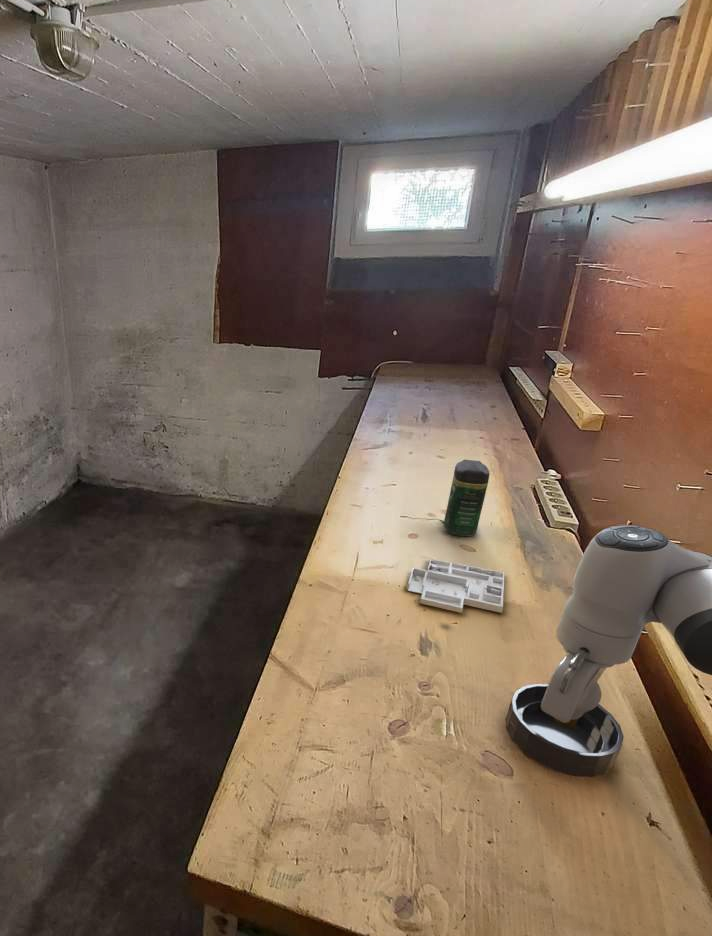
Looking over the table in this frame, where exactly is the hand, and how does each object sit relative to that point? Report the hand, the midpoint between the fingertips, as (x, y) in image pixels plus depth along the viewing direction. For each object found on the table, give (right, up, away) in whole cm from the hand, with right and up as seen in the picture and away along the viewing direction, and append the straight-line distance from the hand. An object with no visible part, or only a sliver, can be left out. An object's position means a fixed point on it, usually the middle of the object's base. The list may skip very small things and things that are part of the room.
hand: (568, 707), depth 84 cm
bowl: (0, -6, +3) cm, 7 cm away
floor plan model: (+2, +11, +38) cm, 40 cm away
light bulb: (0, -3, +2) cm, 4 cm away
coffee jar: (+17, +25, +65) cm, 71 cm away
